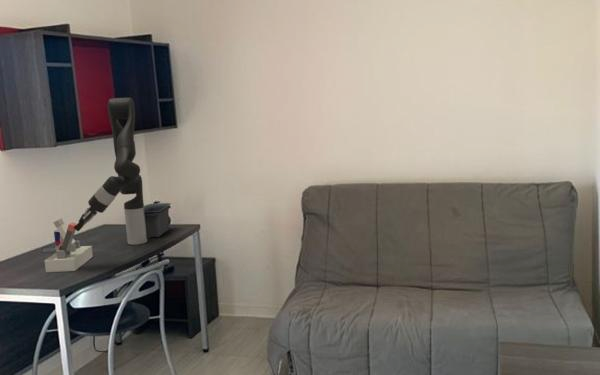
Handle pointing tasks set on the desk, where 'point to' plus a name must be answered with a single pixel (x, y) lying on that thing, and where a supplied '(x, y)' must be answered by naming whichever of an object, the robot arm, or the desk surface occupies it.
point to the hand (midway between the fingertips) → (76, 229)
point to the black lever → (68, 237)
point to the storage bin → (156, 219)
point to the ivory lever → (62, 229)
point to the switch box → (69, 258)
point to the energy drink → (58, 240)
